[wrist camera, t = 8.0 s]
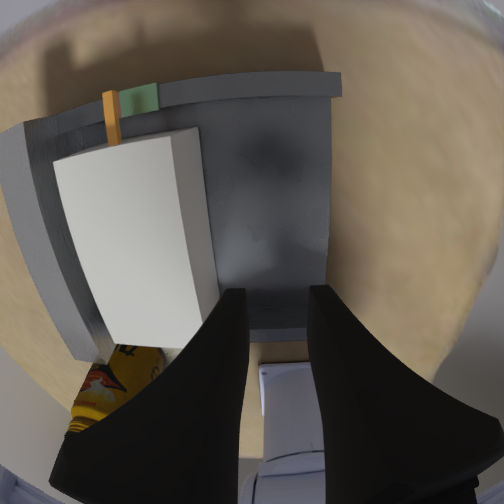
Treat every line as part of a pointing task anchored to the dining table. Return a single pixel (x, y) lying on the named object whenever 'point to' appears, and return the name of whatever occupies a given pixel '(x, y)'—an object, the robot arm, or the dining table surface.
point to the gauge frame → (216, 188)
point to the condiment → (117, 382)
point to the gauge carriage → (142, 231)
